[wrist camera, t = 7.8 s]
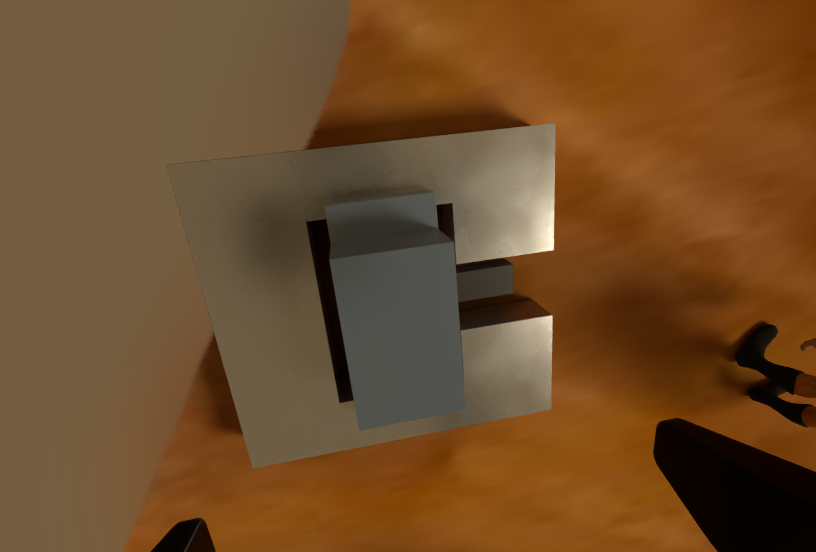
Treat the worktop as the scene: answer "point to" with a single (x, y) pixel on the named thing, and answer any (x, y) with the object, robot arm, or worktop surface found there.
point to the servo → (403, 305)
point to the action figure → (779, 378)
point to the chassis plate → (303, 291)
